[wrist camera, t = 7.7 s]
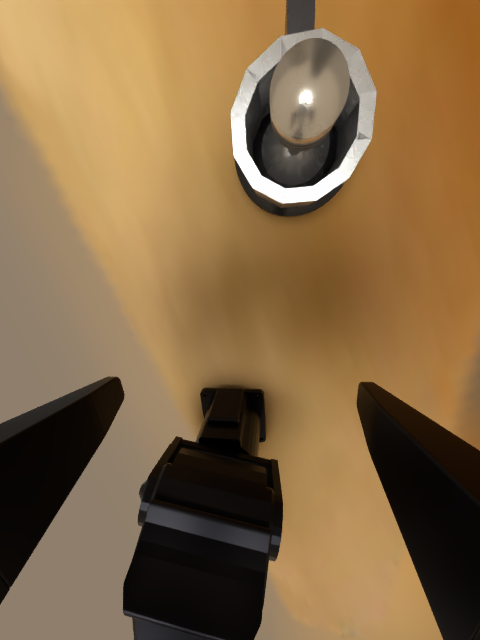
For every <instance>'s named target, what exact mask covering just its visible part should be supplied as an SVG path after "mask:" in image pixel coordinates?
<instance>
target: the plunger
mask: <svg viewBox="0 0 480 640" xmlns="http://www.w3.org/2000/svg"><path fill="white" fill-rule="evenodd" d="M349 86H350V74H349V68H348V64H347V61H346V58H345V57H344V55H343V53H342V52H341V50H340V49H339V48H338V47H337V46H336V45H335V44H333V43H332V42H330V41H328V40H326V39H322V38H309V39H306V40H303V41H301V42H299V43H297V44H295V45H294V46H293V47H291V48H290V49H289V50H288V51H287V52H286V53H285V54H284V55H283V57H282V58H281V59H280V61H279V63H278V64H277V66H276V69H275V71H274V73H273V76H272V80H271V85H270V113H271V122H270V123H269V125H268V127H267V129H266V131H265V133H264V136H263V140H262V158H263V163H264V166H265V168H266V171H267V172H268V174H269V175H270V176H271V177H272V178H273V179H274V180H275V181H276V182H278V183H280V184H282V185H286V186H296V185H300V184H303V183H305V182H307V181H309V180H310V179H311V178H313V177H314V176H315V175H316V174H317V172H318V171H319V170H320V169H321V167H322V166H323V164H324V162H325V160H326V158H327V155H328V151H329V144H330V136H329V132H330V130H331V128H332V127H333V125H334V123H335V122H336V120H337V118H338V116H339V115H340V113H341V111H342V110H343V107H344V105H345V103H346V100H347V97H348V92H349Z"/></svg>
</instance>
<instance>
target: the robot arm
mask: <svg viewBox="0 0 480 640" xmlns="http://www.w3.org/2000/svg"><path fill="white" fill-rule="evenodd" d="M204 393H206V394H204ZM257 395H261V396H257ZM200 396H201V402H202V409H203V415H204V420H203V423H202V426H201V428H200V431H199V434H198V437H197V439H196V442H193V441H188V440H184V439H182V438H181V437H177V436H176V437H175V439H174V440H173V442H172V443H171V444H170V445H169V446H168V448H167V449H166V451H165V452H164V454H163V455H162V457H161V458H160V460H159V461H158V463H157V464H156V466H155V467H154V469H153V470H152V472H151V473H150V475H149V477H148V479H147V480H146V481H145V483H143V484H142V486H141V488H140V491H139V495H140V498H141V505H140V509H139V514H138V525H139V526H142V530H141V533H140V536H139V539H138V542H137V546H136V549H135V552H134V556H133V559H132V562H131V565H130V567H129V570H128V573H127V575H126V578H125V581H124V586H123V613H124V615H125V616H129V617H132V619H133V631H134V640H254V638H255V636H256V634H257V631H258V629H259V627H260V624H261V619H262V609H263V605H264V597H265V588H266V580H267V571H268V562H269V560H271V561H275V560H276V559H277V556H278V552H279V547H280V541H281V533H282V521H283V500H282V491H281V483H280V476H279V468H278V460H275V459H271V460H269V459H265V458H260V457H258V449H259V442H264V441H265V440H266V429H265V406H264V393H263V391H261V390H243V389H207V388H205V389H202V391H201V393H200ZM123 400H124V391H123V387H122V384H121V381H120V379H119V378H118V377H106V378H104V379H102V380H99V381H97V382H95V383H92V384H90V385H88V386H85V387H83V388H81V389H79V390H76V391H74V392H72V393H69V394H67V395H65V396H63V397H60V398H58V399H56V400H53V401H51V402H49V403H47V404H44V405H42V406H40V407H37V408H35V409H33V410H31V411H28V412H26V413H24V414H22V415H19V416H17V417H15V418H12V419H10V420H8V421H6V422H3V423H1V424H0V604H1V602H2V601H3V599H4V598H5V596H6V595H7V593H8V591H9V589H10V587H11V586H12V584H13V583H14V581H15V579H16V578H17V577H18V575H19V573H20V572H21V570H22V568H23V567H24V565H25V564H26V562H27V560H28V559H29V557H30V556H31V554H32V553H33V551H34V549H35V548H36V546H37V545H38V543H39V541H40V540H41V538H42V537H43V535H44V533H45V532H46V530H47V529H48V527H49V525H50V524H51V522H52V520H53V519H54V517H55V516H56V514H57V512H58V511H59V509H60V507H61V506H62V504H63V503H64V501H65V500H66V498H67V496H68V495H69V493H70V492H71V490H72V488H73V487H74V485H75V484H76V482H77V481H78V479H79V477H80V476H81V474H82V472H83V471H84V469H85V468H86V466H87V465H88V463H89V461H90V459H91V458H92V457H93V455H94V453H95V452H96V450H97V449H98V447H99V445H100V444H101V442H102V440H103V439H104V437H105V435H106V433H107V432H108V430H109V428H110V426H111V424H112V422H113V420H114V418H115V416H116V414H117V412H118V410H119V408H120V406H121V404H122V402H123ZM357 409H358V413H359V417H360V420H361V424H362V428H363V431H364V435H365V439H366V442H367V446H368V449H369V452H370V455H371V458H372V461H373V463H374V466H375V468H376V471H377V473H378V476H379V478H380V481H381V483H382V486H383V488H384V491H385V493H386V496H387V498H388V501H389V503H390V506H391V509H392V511H393V514H394V516H395V519H396V521H397V524H398V526H399V529H400V531H401V534H402V536H403V539H404V541H405V544H406V546H407V549H408V551H409V554H410V556H411V559H412V562H413V564H414V567H415V569H416V572H417V574H418V577H419V579H420V582H421V584H422V587H423V589H424V592H425V594H426V597H427V599H428V602H429V604H430V607H431V610H432V612H433V615H434V617H435V620H436V622H437V625H438V627H439V629H440V632H441V635H442V637H443V640H480V451H479V450H478V449H476V448H475V447H473V446H472V445H470V444H468V443H467V442H465V441H464V440H462V439H461V438H459V437H458V436H456V435H454V434H453V433H451V432H450V431H448V430H447V429H445V428H444V427H442V426H440V425H439V424H437V423H436V422H434V421H433V420H431V419H430V418H428V417H426V416H425V415H423V414H422V413H420V412H419V411H417V410H416V409H414V408H412V407H411V406H409V405H408V404H406V403H405V402H403V401H402V400H400V399H398V398H397V397H395V396H394V395H392V394H391V393H389V392H388V391H386V390H384V389H383V388H381V387H380V386H378V385H377V384H375V383H373V382H360V383H359V387H358V395H357Z"/></svg>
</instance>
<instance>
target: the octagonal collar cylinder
mask: <svg viewBox="0 0 480 640" xmlns="http://www.w3.org/2000/svg"><path fill="white" fill-rule="evenodd" d="M314 23H315V0H286V21H285V35H284V36H281V37H279V38H278V39H277V40H276V41H275V42H274V43H273V44H272V45H271V46H270V47H269V48H268V49H267V50H266V51H265V52H264V53H263V54H262V55H261V56H259V57H258V58H257V59H256V60H255V61H254V62H253V63H252V64H251V65H250V66H249V67H248V68H247V69H246V72H245V75H244V78H243V80H242V83H241V86H240V89H239V91H238V94H237V97H236V100H235V102H234V105H233V108H232V111H231V126H232V140H233V155H234V157H235V164H236V170H237V174H238V177H239V180H240V182H241V184H242V186H243V188H244V190H245V192H246V193H247V194H248V196H249V197H250V198H251V199H252V200H253V201H254V202H255V203H256V204H257V205H258V206H259V207H261V208H262V209H264V210H265V211H268V212H270V213H272V214H275V215H279V216H298V215H303V214H306V213H309V212H311V211H314V210H316V209H318V208H319V207H321V206H323V205H324V204H325V203H327V202H328V201H329V200H330V199H331V198H332V197H333V196H334V195H335V194H336V193H337V192H338V191H339V190H340V188H341V187H342V186H343V184H344V183H345V181H346V180H347V179H348V178H349V177H350V176H351V174H352V172H353V170H354V169H355V167H356V165H357V164H358V162H359V160H360V158H361V157H362V155H363V153H364V152H365V150H366V148H367V146H368V145H369V143H370V141H371V140H372V133H373V123H374V113H375V103H376V94H377V92H376V88H375V86H374V83H373V81H372V79H371V76H370V74H369V72H368V69H367V67H366V64H365V62H364V60H363V57H362V55H361V52H360V50H359V49H358V48H356V47H355V46H353V45H351V44H349V43H348V42H346V41H344V40H343V39H341V38H339V37H337V36H336V35H334V34H332V33H330V32H329V31H327V30H325V29H324V28H321V29H315V30H314ZM309 38H322V39H326V40H328V41H330V42H332V43H333V44H335V45H336V46H337V47H338V48H339V49H340V50H341V52H342V53H343V55H344V57H345V58H346V61H347V64H348V68H349V74H350V86H349V92H348V97H347V100H346V103H345V105H344V107H343V110H342V111H341V113H340V115H339V116H338V118H337V120H336V122H335V123H334V125H333V127H332V128H331V130H330V132H329V136H330V144H329V151H328V155H327V158H326V160H325V162H324V164H323V166H322V167H321V169H320V170H319V171H318V172H317V174H316V175H315V176H314V177H313V178H311V179H310V180H309V181H307V182H305V183H303V184H300V185H296V186H286V185H282V184H280V183H278V182H276V181H275V180H274V179H273V178H272V177H271V176H270V175H269V174H268V172H267V171H266V168H265V166H264V163H263V158H262V140H263V136H264V133H265V131H266V129H267V127H268V125H269V123H270V122H271V113H270V85H271V80H272V76H273V73H274V71H275V69H276V66H277V64H278V63H279V61H280V59H281V58H282V57H283V55H284V54H285V53H286V52H287V51H288V50H289V49H290V48H291V47H293V46H294V45H295V44H297V43H299V42H301V41H303V40H306V39H309Z"/></svg>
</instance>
